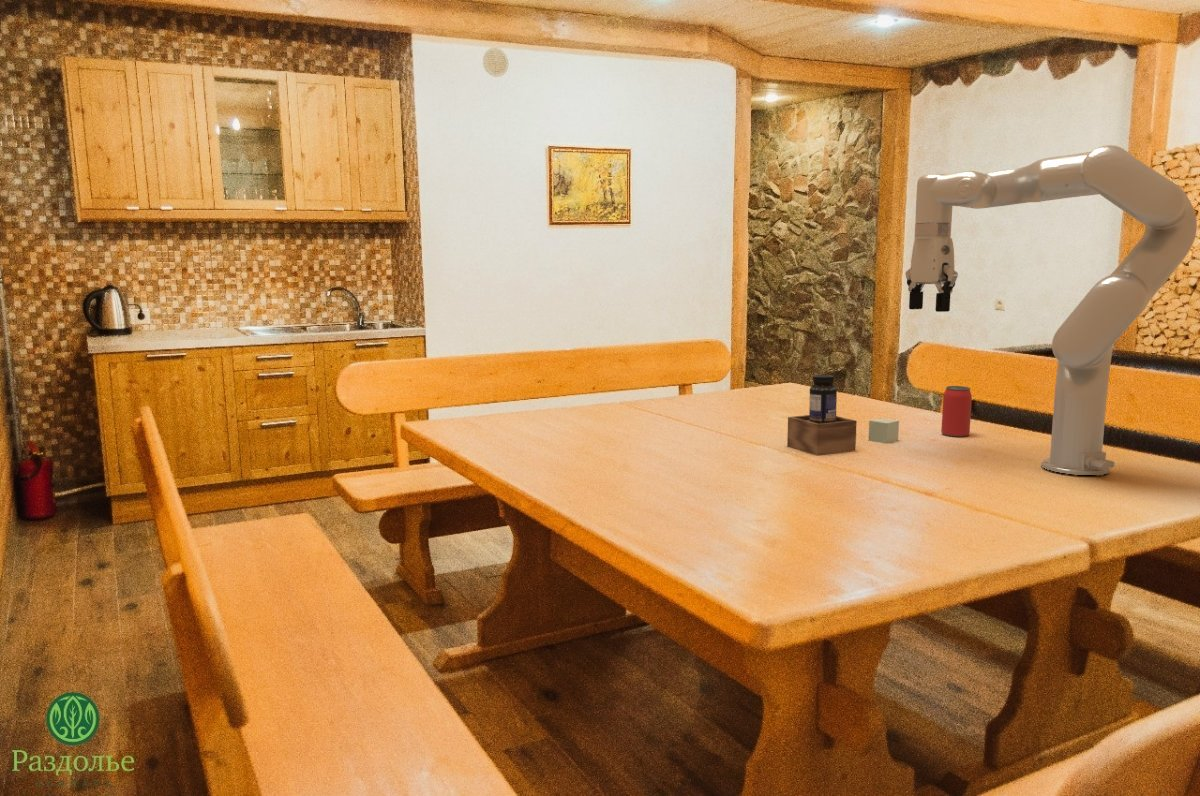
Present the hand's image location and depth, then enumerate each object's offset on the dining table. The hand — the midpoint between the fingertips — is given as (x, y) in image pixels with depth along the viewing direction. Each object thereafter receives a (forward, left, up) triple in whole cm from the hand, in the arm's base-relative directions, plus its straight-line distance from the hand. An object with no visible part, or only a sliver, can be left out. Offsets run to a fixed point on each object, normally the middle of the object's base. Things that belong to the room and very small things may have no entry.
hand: (928, 310), depth 199 cm
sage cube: (+14, +1, -32) cm, 35 cm away
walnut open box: (+10, +20, -32) cm, 39 cm away
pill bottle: (+10, +20, -26) cm, 35 cm away
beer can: (+15, -20, -32) cm, 41 cm away
